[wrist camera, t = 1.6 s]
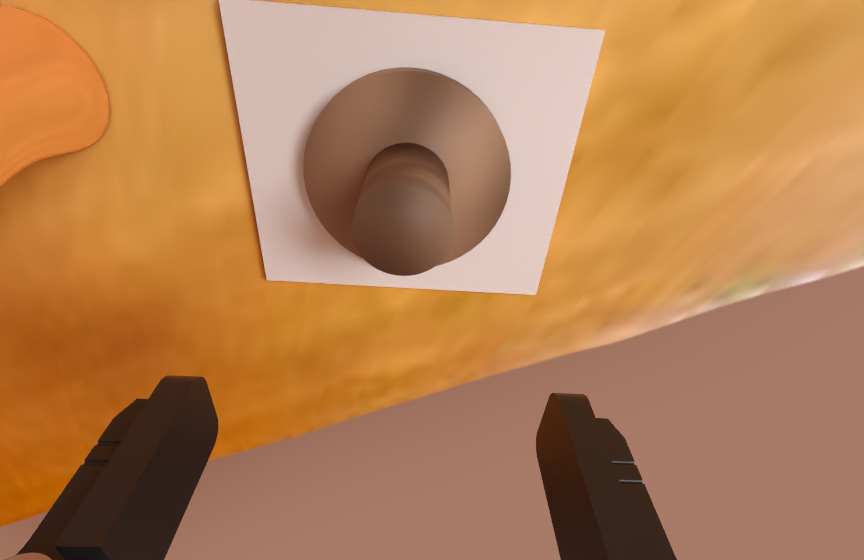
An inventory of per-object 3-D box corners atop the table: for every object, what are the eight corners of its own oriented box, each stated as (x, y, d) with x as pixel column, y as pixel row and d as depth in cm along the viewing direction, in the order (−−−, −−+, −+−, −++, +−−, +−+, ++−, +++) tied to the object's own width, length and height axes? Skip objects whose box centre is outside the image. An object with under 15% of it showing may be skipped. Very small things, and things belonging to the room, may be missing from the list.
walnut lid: (525, 76, 20) (557, 111, 15) (491, 264, 25) (506, 335, 21) (298, 58, 19) (252, 89, 14) (315, 254, 25) (288, 324, 20)
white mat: (601, 29, 19) (605, 30, 19) (534, 290, 27) (535, 294, 27) (222, -3, 18) (217, -3, 18) (269, 275, 26) (266, 280, 26)
